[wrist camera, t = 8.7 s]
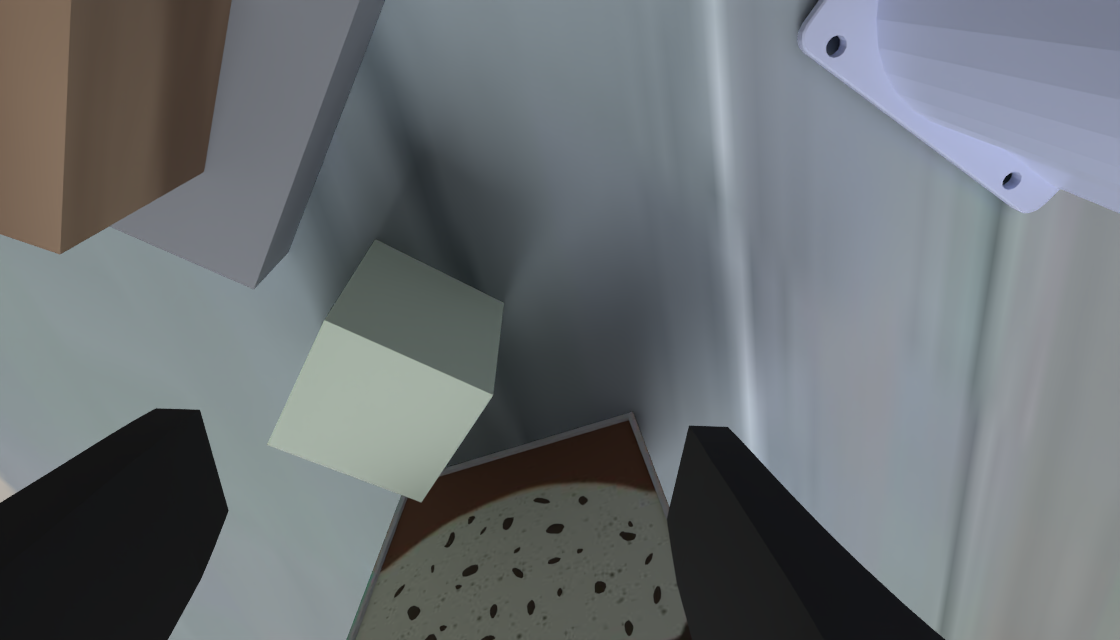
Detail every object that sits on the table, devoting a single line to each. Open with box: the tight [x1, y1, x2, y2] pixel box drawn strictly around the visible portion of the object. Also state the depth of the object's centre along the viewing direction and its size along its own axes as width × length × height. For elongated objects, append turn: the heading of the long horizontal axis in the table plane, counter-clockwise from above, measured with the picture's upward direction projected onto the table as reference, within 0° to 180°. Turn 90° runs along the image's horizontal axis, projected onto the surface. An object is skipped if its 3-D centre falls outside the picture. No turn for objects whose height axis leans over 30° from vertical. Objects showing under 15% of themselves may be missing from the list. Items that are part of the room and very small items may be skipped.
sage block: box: [267, 239, 504, 502], centre depth 18 cm, size 4×4×5 cm
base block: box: [110, 0, 385, 289], centre depth 14 cm, size 9×9×3 cm
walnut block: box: [0, 0, 232, 254], centre depth 11 cm, size 4×4×5 cm
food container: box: [347, 412, 692, 640], centre depth 20 cm, size 12×6×10 cm, turn 110°
